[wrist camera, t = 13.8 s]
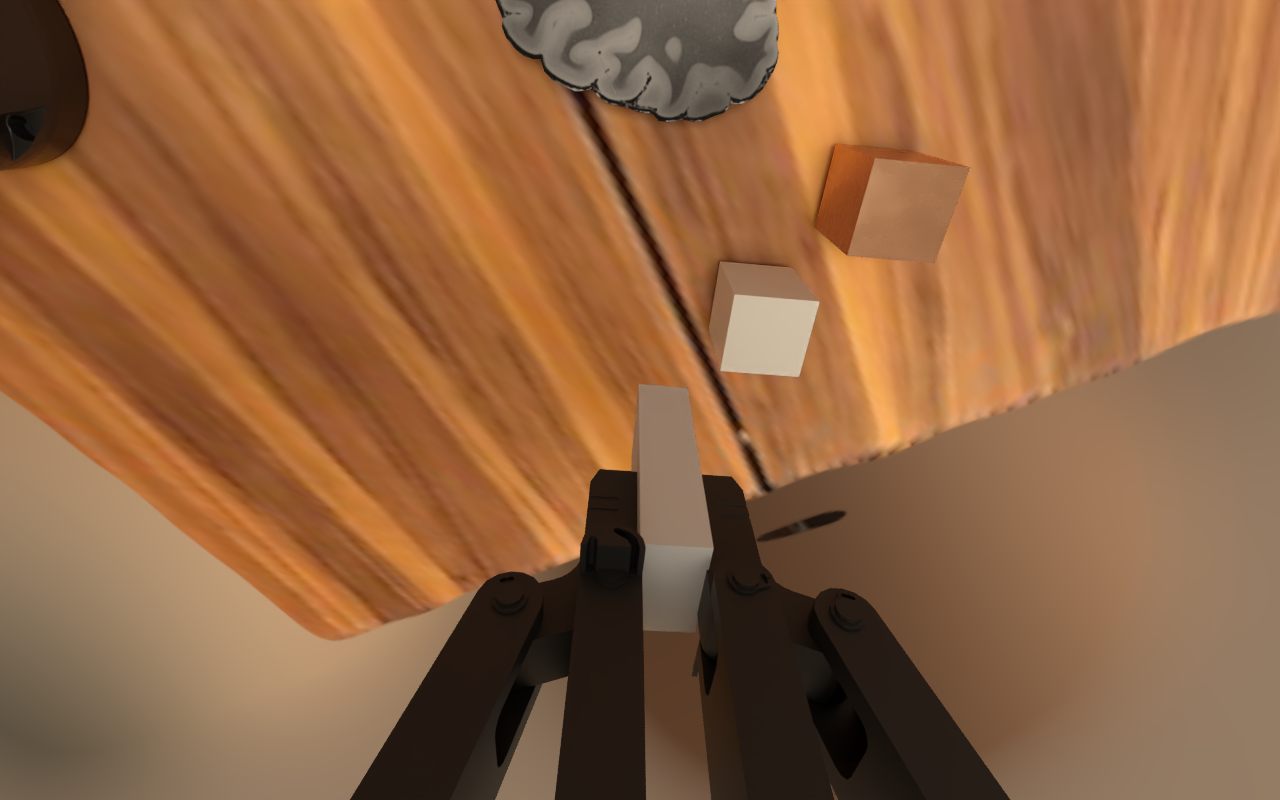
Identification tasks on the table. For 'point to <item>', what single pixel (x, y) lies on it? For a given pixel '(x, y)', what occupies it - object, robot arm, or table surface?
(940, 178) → the tan brown block
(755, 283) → the cream sugar cube
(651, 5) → the brain slice
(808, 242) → the table surface
